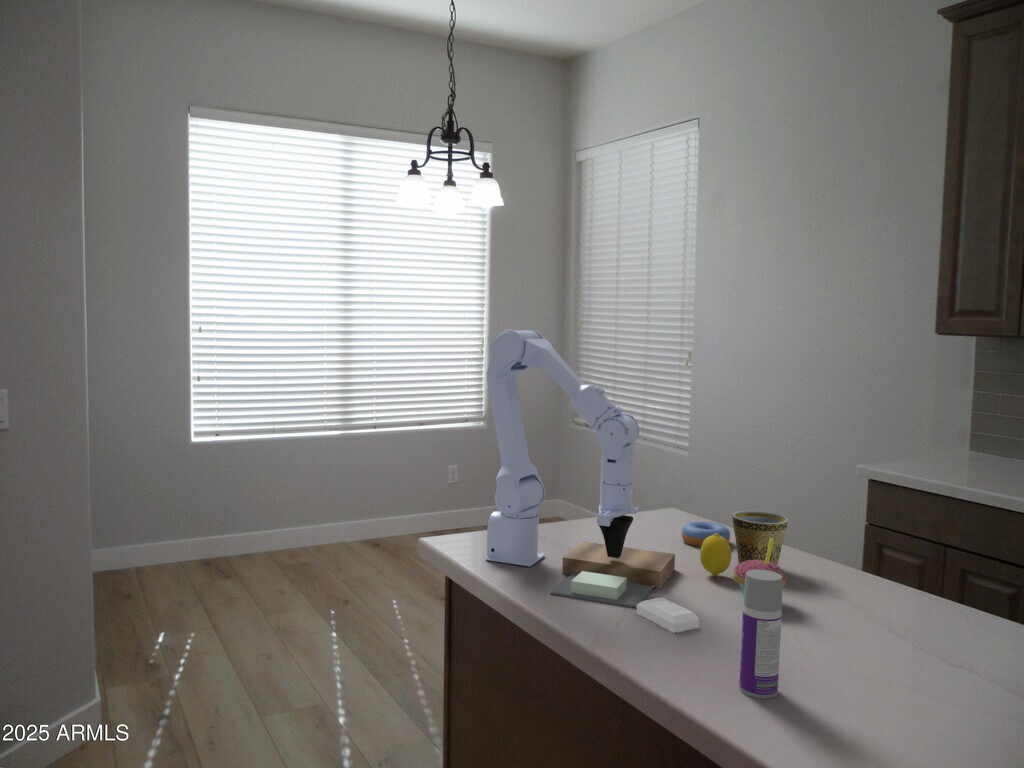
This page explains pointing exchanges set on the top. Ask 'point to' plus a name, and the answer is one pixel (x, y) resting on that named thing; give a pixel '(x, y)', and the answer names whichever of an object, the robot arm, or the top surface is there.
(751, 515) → the ceramic cup
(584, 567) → the board
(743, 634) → the container
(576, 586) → the tile
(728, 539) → the doughnut
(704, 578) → the top surface
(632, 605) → the mat
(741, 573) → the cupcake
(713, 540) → the lemon
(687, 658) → the top surface
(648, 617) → the soap bar
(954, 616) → the top surface
